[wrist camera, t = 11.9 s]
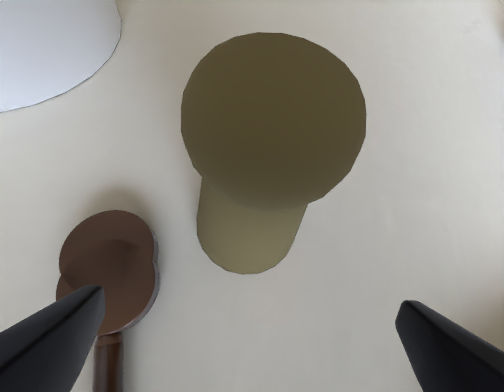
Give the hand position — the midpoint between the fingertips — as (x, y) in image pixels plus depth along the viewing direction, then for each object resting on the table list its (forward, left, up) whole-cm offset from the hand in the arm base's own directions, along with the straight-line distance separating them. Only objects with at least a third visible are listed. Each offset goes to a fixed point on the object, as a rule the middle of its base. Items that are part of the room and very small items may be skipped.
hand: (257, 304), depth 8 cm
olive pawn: (+3, +3, -7) cm, 9 cm away
